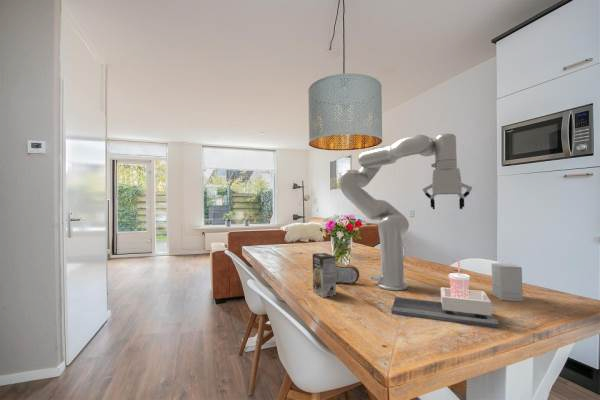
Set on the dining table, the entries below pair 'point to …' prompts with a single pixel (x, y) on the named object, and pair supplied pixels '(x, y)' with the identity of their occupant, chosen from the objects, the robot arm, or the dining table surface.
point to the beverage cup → (459, 284)
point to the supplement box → (507, 281)
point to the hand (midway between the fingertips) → (447, 209)
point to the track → (438, 312)
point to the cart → (466, 303)
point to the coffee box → (324, 274)
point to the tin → (346, 274)
